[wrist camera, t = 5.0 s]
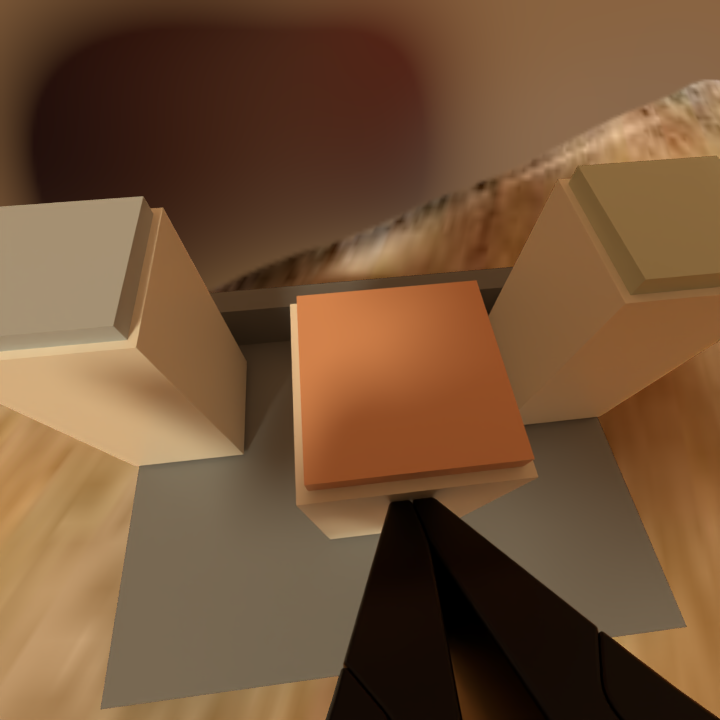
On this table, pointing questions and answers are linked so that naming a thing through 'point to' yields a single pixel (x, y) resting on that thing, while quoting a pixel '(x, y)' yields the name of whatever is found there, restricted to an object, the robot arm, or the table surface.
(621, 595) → the keypad board
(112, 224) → the key
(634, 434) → the table surface
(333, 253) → the table surface
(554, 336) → the beige upright block
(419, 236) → the table surface
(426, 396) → the key
